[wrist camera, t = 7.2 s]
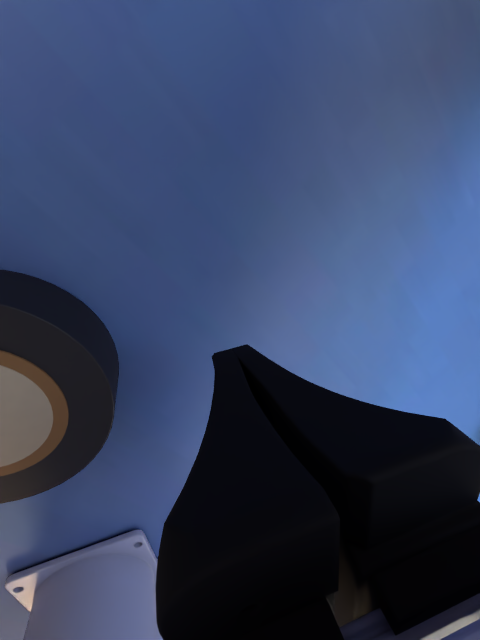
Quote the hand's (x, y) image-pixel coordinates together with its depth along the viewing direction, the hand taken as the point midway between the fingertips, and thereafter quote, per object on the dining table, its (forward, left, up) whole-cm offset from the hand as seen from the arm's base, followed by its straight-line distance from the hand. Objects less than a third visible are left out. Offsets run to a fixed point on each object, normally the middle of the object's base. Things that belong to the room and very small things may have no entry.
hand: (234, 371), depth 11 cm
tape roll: (0, +9, -5) cm, 10 cm away
